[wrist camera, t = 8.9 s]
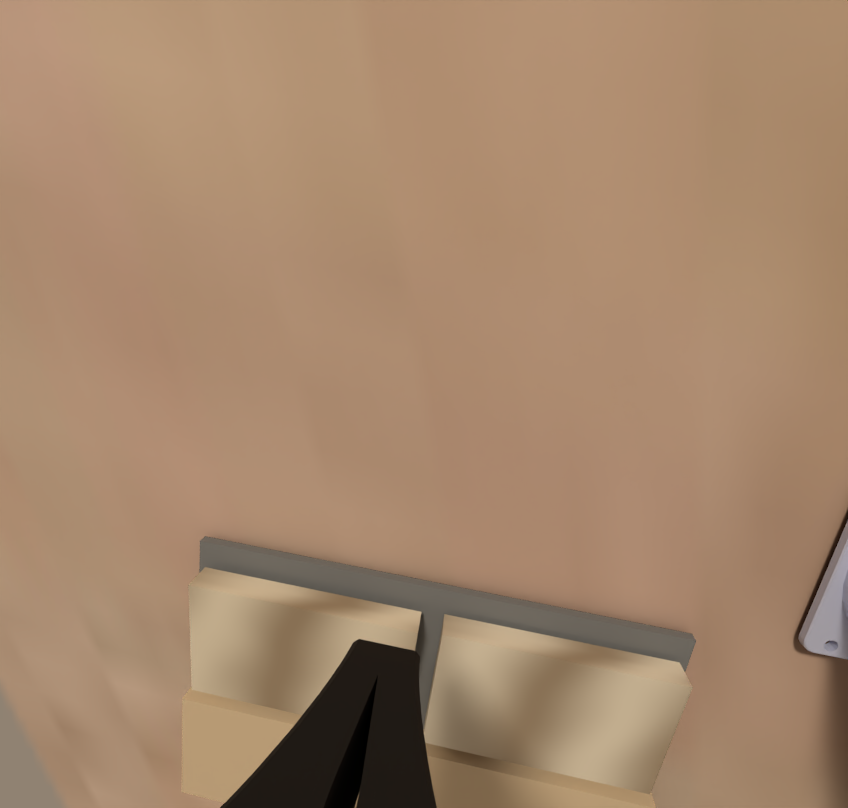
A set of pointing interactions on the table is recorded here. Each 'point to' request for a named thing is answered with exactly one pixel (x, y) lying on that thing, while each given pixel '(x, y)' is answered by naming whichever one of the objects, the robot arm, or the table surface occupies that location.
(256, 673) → the plank
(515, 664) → the plank
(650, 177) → the table surface
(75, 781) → the table surface
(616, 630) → the floor base
